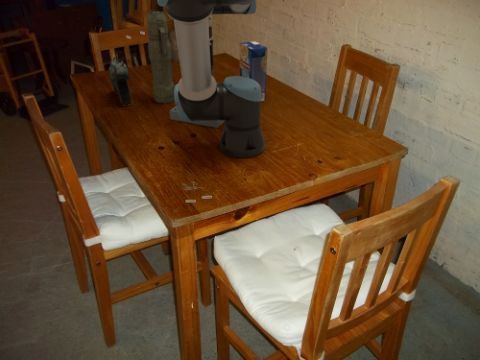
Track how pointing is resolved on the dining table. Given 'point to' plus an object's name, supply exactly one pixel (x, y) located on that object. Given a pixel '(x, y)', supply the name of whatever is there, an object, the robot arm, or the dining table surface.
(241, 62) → the beverage box
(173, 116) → the box
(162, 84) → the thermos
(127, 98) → the ceramic cat
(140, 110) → the dining table surface
